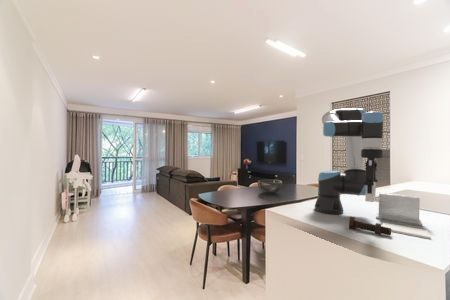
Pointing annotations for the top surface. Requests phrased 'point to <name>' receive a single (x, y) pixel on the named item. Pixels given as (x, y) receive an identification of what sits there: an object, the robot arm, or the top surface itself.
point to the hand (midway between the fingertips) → (370, 198)
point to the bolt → (369, 227)
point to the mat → (408, 230)
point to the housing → (399, 208)
